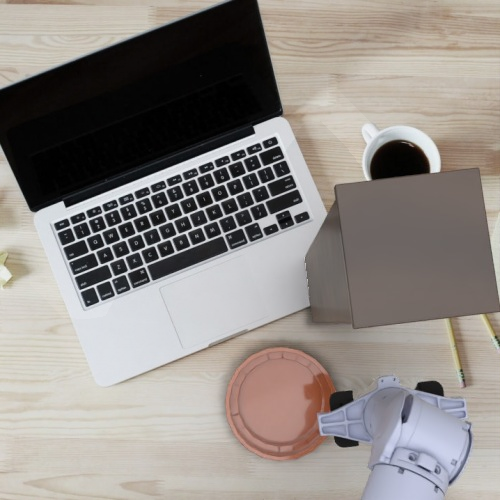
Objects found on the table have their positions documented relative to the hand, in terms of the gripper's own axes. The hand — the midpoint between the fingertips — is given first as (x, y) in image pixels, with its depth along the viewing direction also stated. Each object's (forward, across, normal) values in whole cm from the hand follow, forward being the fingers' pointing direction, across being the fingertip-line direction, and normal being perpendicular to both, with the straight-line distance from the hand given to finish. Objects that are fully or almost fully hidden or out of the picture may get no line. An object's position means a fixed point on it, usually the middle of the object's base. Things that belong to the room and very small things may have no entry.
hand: (378, 405), depth 79 cm
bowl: (+8, +11, -1) cm, 13 cm away
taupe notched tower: (+8, +2, -14) cm, 16 cm away
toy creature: (+2, 0, 0) cm, 2 cm away
